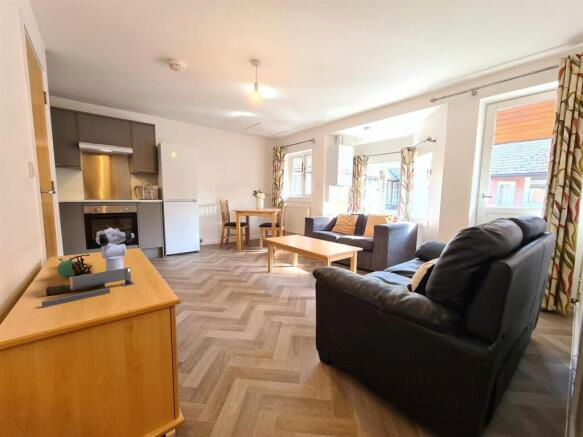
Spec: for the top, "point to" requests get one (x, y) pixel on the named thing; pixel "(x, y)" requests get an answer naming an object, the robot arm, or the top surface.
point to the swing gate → (100, 278)
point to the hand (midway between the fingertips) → (118, 239)
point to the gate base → (128, 284)
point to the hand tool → (68, 289)
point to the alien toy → (65, 268)
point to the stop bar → (75, 297)
